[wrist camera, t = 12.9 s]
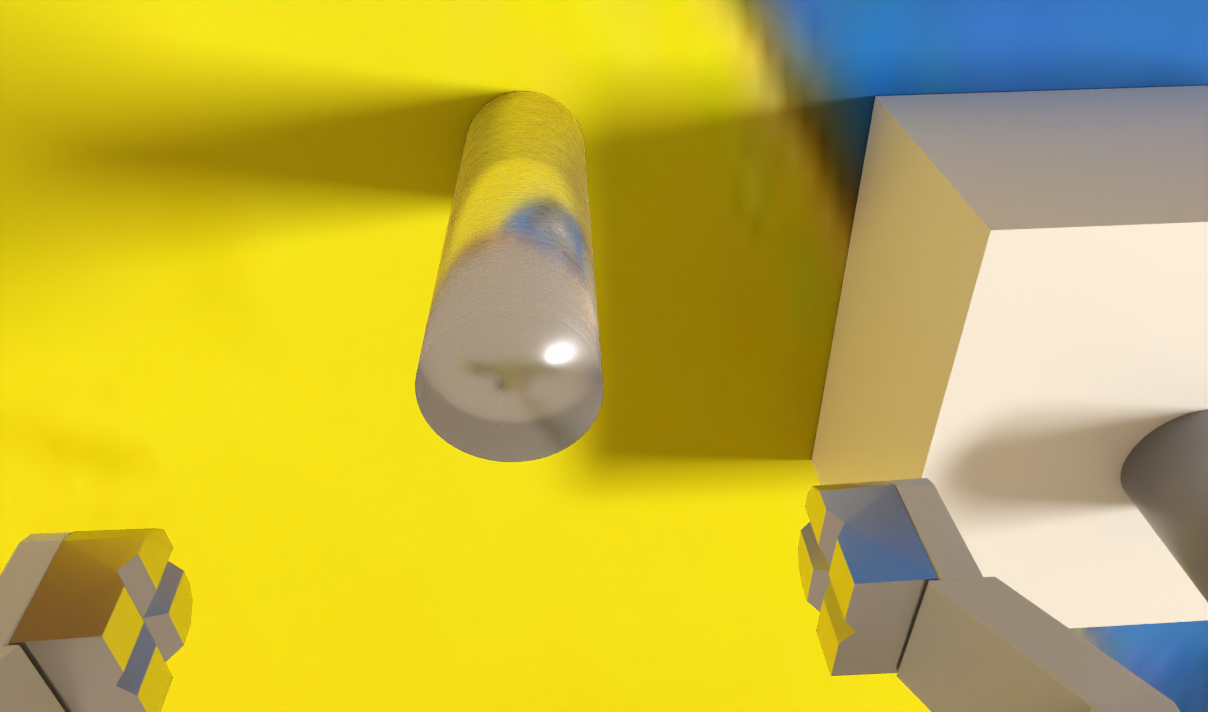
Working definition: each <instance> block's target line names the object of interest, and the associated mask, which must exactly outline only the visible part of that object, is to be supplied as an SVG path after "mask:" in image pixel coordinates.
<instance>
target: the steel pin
mask: <svg viewBox="0 0 1208 712" xmlns="http://www.w3.org/2000/svg"><path fill="white" fill-rule="evenodd" d="M415 391H416V398H417V402H418V405H419V408H420V410H421V413H422V415H423V416H424V418H425V420H426V421H427V423H428V424H429V425H430V427H431V428H432V429H433V430H434V431H435V432H436V433H437V434H438V435H439V436H440V437H441V438H442V439H444V440H445V441H446V442H447V443H449V444H451V445H452V446H454V447H455V448H457V449H459V450H461V451H463V452H465V453H468V454H470V455H473V456H476V457H479V458H483V459H488V460H493V461H500V462H522V461H530V460H536V459H540V458H543V457H547V456H550V455H552V454H555V453H557V452H559V451H561V450H563V449H565V448H567V447H568V446H570V445H571V444H573V443H574V442H576V441H577V440H578V439H579V438H580V437H582V436H583V435H584V434H585V432H586V431H587V430H588V429H589V428H590V427H591V425H592V424H593V422H594V421H595V419H596V417H597V415H598V413H599V410H600V407H601V403H602V398H603V378H602V365H601V352H600V339H599V326H598V313H597V300H596V287H595V274H594V261H593V248H592V235H591V222H590V209H589V196H588V183H587V170H586V157H585V144H584V138H583V134H582V131H581V128H580V126H579V124H578V122H577V121H576V119H575V118H574V116H573V115H572V114H571V113H570V112H569V110H568V109H566V108H565V107H564V106H563V105H562V104H560V103H559V102H557V101H556V100H554V99H552V98H550V97H548V96H546V95H543V94H539V93H535V92H526V91H521V92H512V93H507V94H504V95H501V96H499V97H497V98H495V99H493V100H491V101H490V102H488V103H487V104H486V105H484V106H483V107H482V108H481V109H480V110H479V111H478V113H477V114H476V115H475V117H474V118H473V120H472V122H471V124H470V126H469V129H468V132H467V136H466V141H465V145H464V150H463V155H462V160H461V164H460V169H459V174H458V179H457V183H456V188H455V193H454V198H453V202H452V207H451V212H450V217H449V221H448V226H447V231H446V236H445V240H444V245H443V250H442V255H441V259H440V264H439V269H438V274H437V278H436V283H435V288H434V293H433V297H432V302H431V307H430V312H429V316H428V321H427V326H426V331H425V335H424V340H423V345H422V350H421V354H420V359H419V364H418V369H417V373H416V381H415Z"/></svg>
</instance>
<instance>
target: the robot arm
mask: <svg viewBox="0 0 1208 712" xmlns="http://www.w3.org/2000/svg"><path fill="white" fill-rule="evenodd" d="M805 507H806V510H807V513H808V516H809V519H810V522H809V523H808V524H807V525H806V526H805V527H804V528H803V529H802V530H801V532H800V539H799V546H798V557H799V571H800V576H801V581H802V586H803V589H804V593H805V596H806V599H807V601H808V602H809V603H810V604H811V605H812V606H814V607H815V608H816V609H817V610H818V611H819V612H820V616H819V620H818V625H817V630H816V631H817V634H818V637H819V640H820V643H821V647H822V650H823V653H824V656H825V659H826V662H827V665H828V668H829V671H830V674H831V676H839V675H860V674H881V673H897V677H898V678H899V679H900V680H901V681H902V682H903V683H904V684H905V685H906V686H907V687H908V688H909V689H910V690H911V691H912V692H913V693H914V694H915V695H916V696H917V697H918V698H919V699H920V700H921V701H922V702H923V703H924V704H925V705H926V706H927V707H928V708H929V709H930V710H931V711H932V712H1180V710H1179V709H1178V707H1177V706H1176V704H1175V703H1174V702H1173V701H1172V700H1170V699H1169V698H1168V697H1166V696H1165V695H1163V694H1162V693H1160V692H1159V691H1158V690H1156V689H1155V688H1153V687H1152V686H1150V685H1149V684H1148V683H1146V682H1145V681H1143V680H1142V679H1140V678H1139V677H1138V676H1136V675H1135V674H1133V673H1132V672H1130V671H1129V670H1128V669H1126V668H1125V667H1123V666H1122V665H1120V664H1119V663H1118V662H1116V661H1115V660H1113V659H1112V658H1110V657H1109V656H1108V655H1106V654H1105V653H1103V652H1102V651H1100V650H1099V649H1098V648H1096V647H1095V646H1093V645H1092V644H1090V643H1089V642H1088V641H1086V640H1085V639H1083V638H1082V637H1081V636H1079V635H1078V634H1076V633H1075V632H1073V631H1072V630H1071V629H1069V628H1068V627H1066V626H1065V625H1063V624H1062V623H1061V622H1059V621H1058V620H1056V619H1055V618H1053V617H1052V616H1051V615H1049V614H1048V613H1046V612H1045V611H1043V610H1042V609H1041V608H1039V607H1038V606H1036V605H1035V604H1033V603H1032V602H1031V601H1029V600H1028V599H1026V598H1025V597H1023V596H1022V595H1021V594H1019V593H1018V592H1016V591H1015V590H1013V589H1012V588H1011V587H1009V586H1008V585H1006V584H1005V583H1003V582H1002V581H1001V580H999V579H998V578H996V577H983V575H982V573H981V571H980V570H979V568H978V566H977V564H976V562H975V560H974V558H973V556H972V554H971V553H970V551H969V549H968V547H967V545H966V543H965V541H964V539H963V537H962V536H961V534H960V532H959V530H958V528H957V526H956V524H955V522H954V520H953V519H952V517H951V515H950V513H949V511H948V509H947V507H946V505H945V503H944V502H943V500H942V498H941V496H940V494H939V492H938V490H937V488H936V486H935V485H934V483H933V482H931V481H930V480H929V479H928V478H918V479H904V480H890V481H872V482H859V483H845V484H832V485H819V486H812V487H811V489H810V491H809V492H808V496H807V501H806V505H805ZM172 549H173V546H172V544H171V542H170V540H169V539H168V537H167V535H166V533H165V531H164V530H163V529H155V528H151V529H125V530H100V531H74V532H64V533H40V534H31V535H29V536H28V537H27V538H25V539H24V540H23V541H21V542H20V543H19V544H18V546H17V548H16V549H15V551H14V553H13V554H12V556H11V558H10V560H9V561H8V563H7V565H6V566H5V568H4V570H3V572H2V573H1V575H0V712H161V709H162V706H163V704H164V701H165V698H166V695H167V692H168V689H169V686H170V684H171V681H172V678H173V677H172V675H171V673H170V671H169V669H168V667H167V664H166V661H167V660H168V659H169V658H170V657H171V656H172V655H174V654H175V653H176V652H177V651H178V650H179V649H180V648H181V647H182V646H183V645H184V643H185V640H186V637H187V634H188V631H189V627H190V624H191V613H192V595H191V589H190V584H189V581H188V579H187V577H186V575H185V572H184V571H183V570H182V569H180V568H178V567H177V566H175V565H173V564H172V563H170V562H169V561H168V559H169V557H170V554H171V551H172Z"/></svg>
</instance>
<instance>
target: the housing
mask: <svg viewBox="0 0 1208 712" xmlns="http://www.w3.org/2000/svg"><path fill="white" fill-rule="evenodd" d="M812 463H813V466H814V469H815V472H816V474H817V477H818V480H819V483H820V485H832V484H845V483H859V482H872V481H890V480H904V479H918V478H928V479H929V480H930V481H931V482H933V483H934V485H935V486H936V488H937V490H938V492H939V494H940V496H941V498H942V500H943V502H944V503H945V505H946V507H947V509H948V511H949V513H950V515H951V517H952V519H953V520H954V522H955V524H956V526H957V528H958V530H959V532H960V534H961V536H962V537H963V539H964V541H965V543H966V545H967V547H968V549H969V551H970V553H971V554H972V556H973V558H974V560H975V562H976V564H977V566H978V568H979V570H980V571H981V573H982V575H983V577H996V578H998V579H999V580H1001V581H1002V582H1003V583H1005V584H1006V585H1008V586H1009V587H1011V588H1012V589H1013V590H1015V591H1016V592H1018V593H1019V594H1021V595H1022V596H1023V597H1025V598H1026V599H1028V600H1029V601H1031V602H1032V603H1033V604H1035V605H1036V606H1038V607H1039V608H1041V609H1042V610H1043V611H1045V612H1046V613H1048V614H1049V615H1051V616H1052V617H1053V618H1055V619H1056V620H1058V621H1059V622H1061V623H1062V624H1063V625H1065V626H1066V627H1068V628H1084V627H1101V626H1118V625H1135V624H1152V623H1169V622H1186V621H1203V620H1208V85H1204V86H1174V87H1143V88H1112V89H1082V90H1051V91H1020V92H989V93H959V94H928V95H897V96H875V102H874V107H873V113H872V119H871V125H870V130H869V136H868V142H867V147H866V153H865V159H864V165H863V170H862V176H861V182H860V187H859V193H858V199H857V204H856V210H855V216H854V222H853V227H852V233H851V239H850V244H849V250H848V256H847V262H846V267H845V273H844V279H843V284H842V290H841V296H840V302H839V307H838V313H837V319H836V324H835V330H834V336H833V342H832V347H831V353H830V359H829V364H828V370H827V376H826V382H825V387H824V393H823V399H822V404H821V410H820V416H819V422H818V427H817V433H816V439H815V444H814V450H813V456H812Z"/></svg>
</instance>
